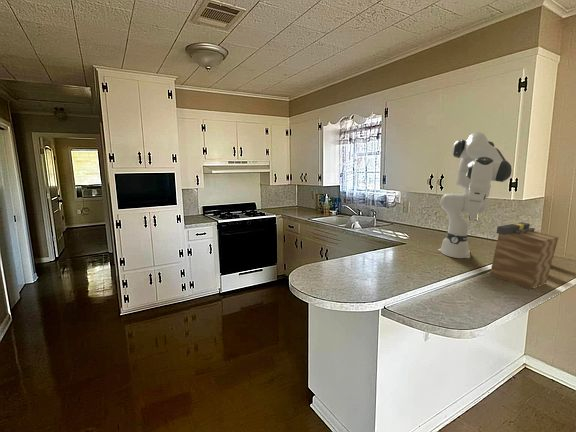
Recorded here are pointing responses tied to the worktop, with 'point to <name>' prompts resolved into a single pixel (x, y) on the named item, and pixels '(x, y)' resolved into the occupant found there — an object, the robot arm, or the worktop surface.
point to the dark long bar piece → (512, 228)
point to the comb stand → (524, 257)
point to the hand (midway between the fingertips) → (474, 217)
